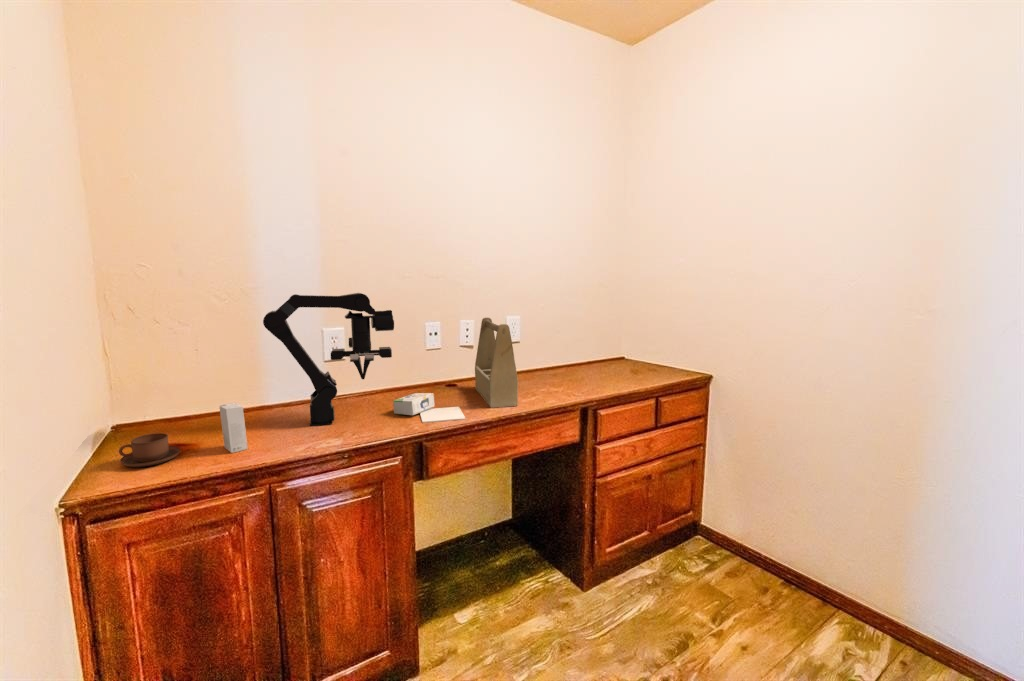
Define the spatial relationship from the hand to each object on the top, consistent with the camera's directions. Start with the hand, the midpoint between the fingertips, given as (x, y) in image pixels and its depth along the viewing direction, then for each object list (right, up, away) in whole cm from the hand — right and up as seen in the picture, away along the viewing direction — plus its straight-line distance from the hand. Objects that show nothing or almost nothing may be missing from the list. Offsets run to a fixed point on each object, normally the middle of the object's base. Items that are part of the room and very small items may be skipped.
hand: (363, 379), depth 152 cm
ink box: (+12, -10, +3) cm, 16 cm away
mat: (+25, -13, +5) cm, 28 cm away
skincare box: (-26, -17, -26) cm, 41 cm away
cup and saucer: (-43, -18, -34) cm, 58 cm away
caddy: (+42, -10, +28) cm, 52 cm away
